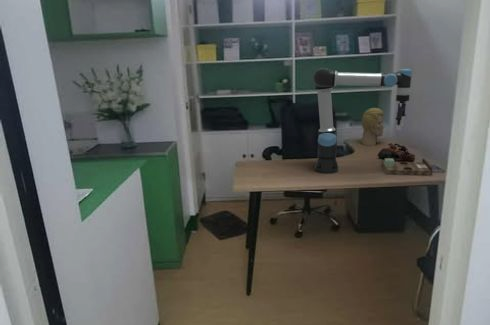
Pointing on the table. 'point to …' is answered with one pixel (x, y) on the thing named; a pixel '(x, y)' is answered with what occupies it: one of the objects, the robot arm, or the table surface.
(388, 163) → the block
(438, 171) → the table surface
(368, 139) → the bust
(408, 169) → the board
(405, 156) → the character figurine
